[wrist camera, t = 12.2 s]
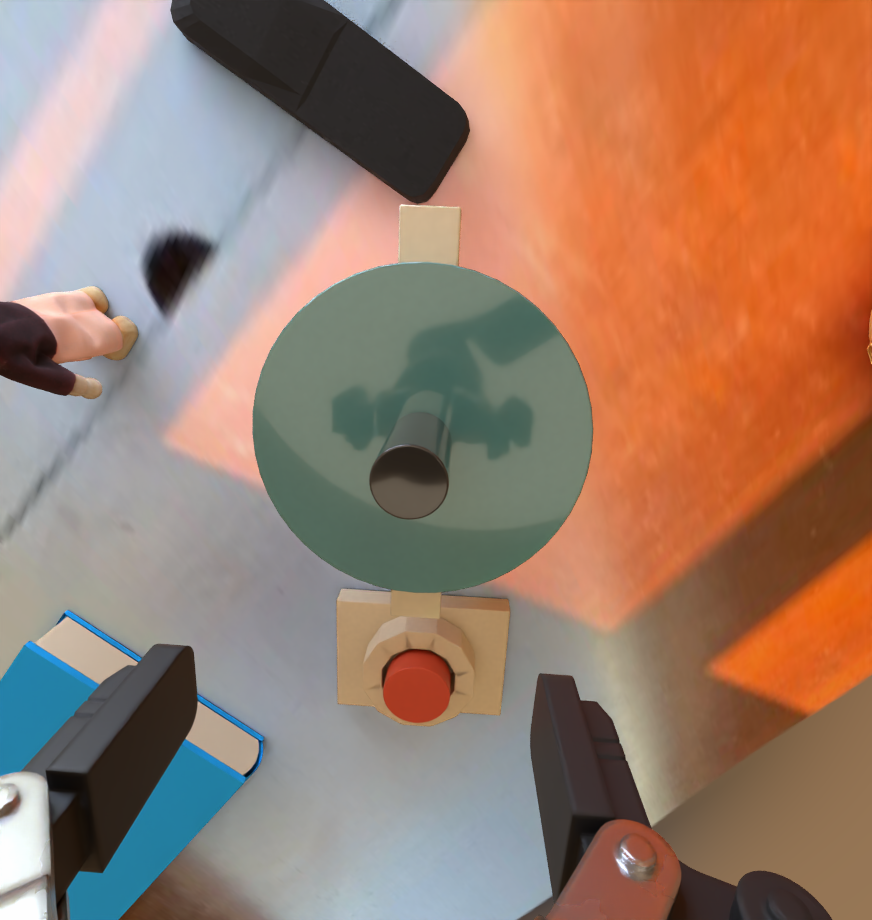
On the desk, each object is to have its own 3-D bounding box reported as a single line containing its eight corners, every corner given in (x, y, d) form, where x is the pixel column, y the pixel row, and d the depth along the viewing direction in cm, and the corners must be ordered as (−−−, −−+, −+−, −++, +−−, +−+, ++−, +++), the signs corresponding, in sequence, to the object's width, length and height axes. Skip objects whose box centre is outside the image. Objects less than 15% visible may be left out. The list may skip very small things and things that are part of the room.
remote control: (476, 126, 28) (217, -75, 26) (478, 116, 27) (201, -100, 24) (424, 212, 30) (172, 29, 27) (422, 208, 28) (154, 12, 26)
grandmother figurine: (35, 311, 32) (-228, 323, 20) (67, 257, 31) (-190, 235, 19) (147, 397, 33) (-36, 458, 21) (181, 347, 32) (9, 381, 20)
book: (-124, 865, 40) (15, 646, 34) (-69, 812, 44) (64, 606, 38) (80, 974, 43) (248, 790, 36) (115, 914, 47) (271, 739, 40)
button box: (508, 598, 36) (513, 630, 32) (498, 700, 38) (502, 739, 35) (341, 588, 36) (328, 618, 33) (342, 689, 38) (330, 726, 35)
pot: (559, 235, 29) (602, 209, 20) (527, 545, 35) (550, 635, 26) (321, 225, 30) (259, 195, 21) (326, 533, 35) (279, 617, 26)
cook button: (452, 651, 34) (451, 669, 32) (449, 704, 35) (448, 725, 33) (387, 646, 34) (383, 665, 32) (386, 700, 35) (382, 721, 33)
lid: (608, 271, 21) (663, 263, 15) (567, 589, 25) (598, 679, 20) (253, 255, 22) (174, 241, 16) (269, 570, 26) (212, 653, 20)
